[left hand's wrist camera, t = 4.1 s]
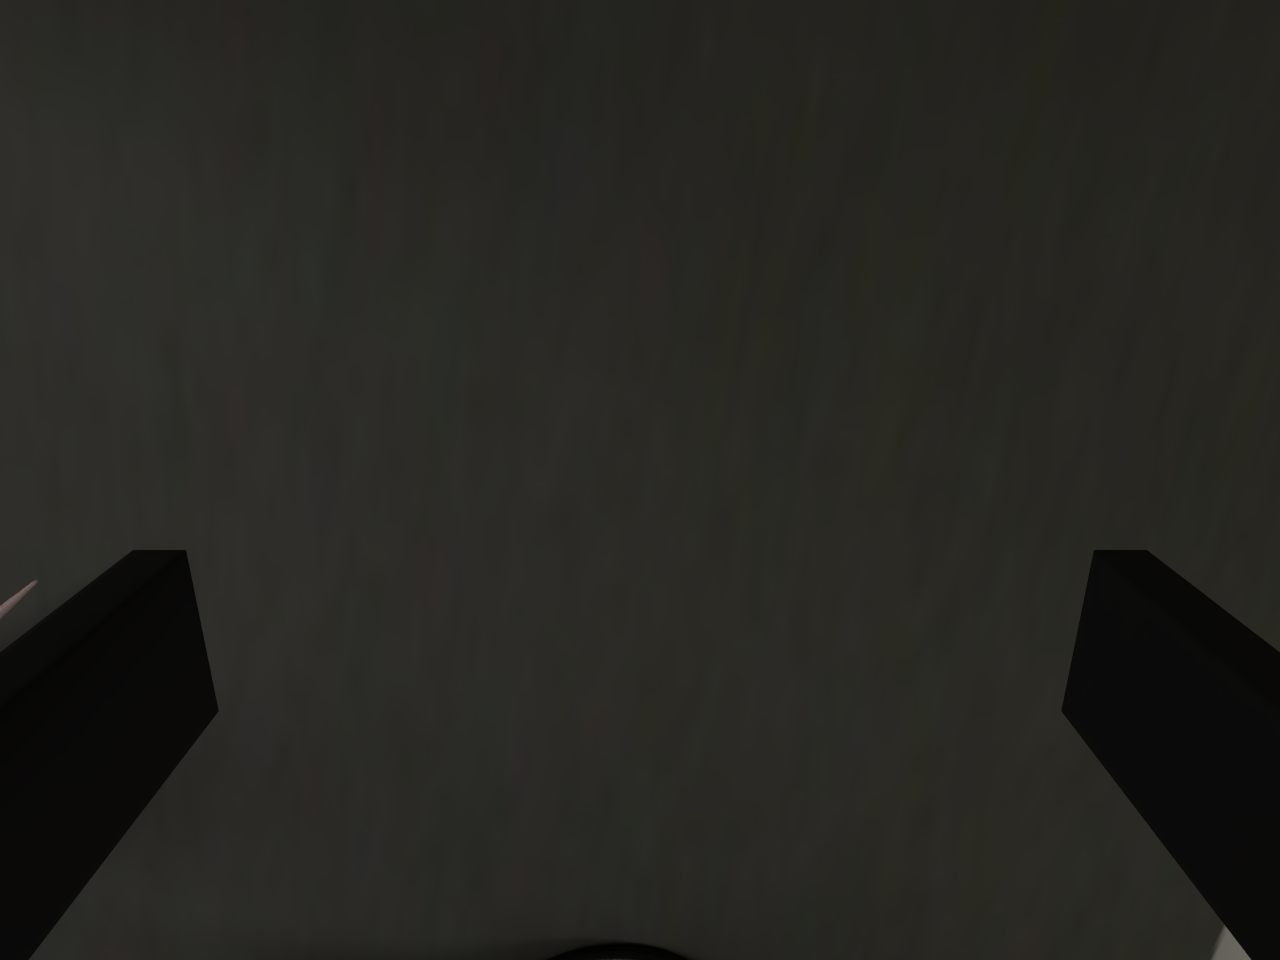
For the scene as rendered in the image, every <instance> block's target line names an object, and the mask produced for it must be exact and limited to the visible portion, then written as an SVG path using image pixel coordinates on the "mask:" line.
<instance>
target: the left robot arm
mask: <svg viewBox="0 0 1280 960" xmlns="http://www.w3.org/2000/svg"><path fill="white" fill-rule="evenodd" d="M217 712H218V706H217V701H216V696H215V691H214V686H213V681H212V676H211V671H210V666H209V661H208V656H207V651H206V647H205V642H204V637H203V632H202V627H201V622H200V617H199V612H198V607H197V602H196V597H195V592H194V587H193V582H192V577H191V573H190V568H189V563H188V558H187V553H186V550H133V551H131V552H130V553H129V554H127V555H126V556H125V557H123V558H122V559H121V560H120V561H118V562H117V563H116V564H114V565H113V566H112V567H111V568H109V569H108V570H107V571H105V572H104V573H103V574H101V575H100V576H99V577H98V578H96V579H95V580H94V581H92V582H91V583H90V584H88V585H87V586H86V587H85V588H83V589H82V590H81V591H79V592H78V593H77V594H75V595H74V596H73V597H72V598H70V599H69V600H68V601H66V602H65V603H64V604H62V605H61V606H60V607H59V608H57V609H56V610H55V611H53V612H52V613H51V614H49V615H48V616H47V617H46V618H44V619H43V620H42V621H40V622H39V623H38V624H37V625H35V626H34V627H33V628H31V629H30V630H29V631H27V632H26V633H25V634H24V635H22V636H21V637H20V638H18V639H17V640H16V641H14V642H13V643H12V644H11V645H9V646H8V647H7V648H5V649H4V650H3V651H1V652H0V960H29V958H30V957H31V956H32V955H33V953H34V952H35V951H36V949H37V948H38V947H39V945H40V944H41V943H42V941H43V940H44V939H45V938H46V936H47V935H48V934H49V932H50V931H51V930H52V928H53V927H54V926H55V924H56V923H57V922H58V921H59V919H60V918H61V917H62V915H63V914H64V913H65V911H66V910H67V909H68V907H69V906H70V905H71V903H72V902H73V901H74V900H75V898H76V897H77V896H78V894H79V893H80V892H81V890H82V889H83V888H84V886H85V885H86V884H87V883H88V881H89V880H90V879H91V877H92V876H93V875H94V873H95V872H96V871H97V869H98V868H99V867H100V866H101V864H102V863H103V862H104V860H105V859H106V858H107V856H108V855H109V854H110V852H111V851H112V850H113V849H114V847H115V846H116V845H117V843H118V842H119V841H120V839H121V838H122V837H123V835H124V834H125V833H126V832H127V830H128V829H129V828H130V826H131V825H132V824H133V822H134V821H135V820H136V818H137V817H138V816H139V815H140V813H141V812H142V811H143V809H144V808H145V807H146V805H147V804H148V803H149V801H150V800H151V799H152V798H153V796H154V795H155V794H156V792H157V791H158V790H159V788H160V787H161V786H162V784H163V783H164V782H165V781H166V779H167V778H168V777H169V775H170V774H171V773H172V771H173V770H174V769H175V767H176V766H177V765H178V764H179V762H180V761H181V760H182V758H183V757H184V756H185V754H186V753H187V752H188V750H189V749H190V748H191V746H192V745H193V744H194V743H195V741H196V740H197V739H198V737H199V736H200V735H201V733H202V732H203V731H204V729H205V728H206V727H207V726H208V724H209V723H210V722H211V720H212V719H213V718H214V716H215V715H216V714H217ZM1062 712H1063V714H1064V715H1065V716H1066V718H1067V719H1068V720H1069V722H1070V723H1071V724H1072V726H1073V727H1074V728H1075V729H1076V731H1077V732H1078V733H1079V735H1080V736H1081V737H1082V739H1083V740H1084V741H1085V743H1086V744H1087V745H1088V746H1089V748H1090V749H1091V750H1092V752H1093V753H1094V754H1095V756H1096V757H1097V758H1098V760H1099V761H1100V762H1101V764H1102V765H1103V766H1104V767H1105V769H1106V770H1107V771H1108V773H1109V774H1110V775H1111V777H1112V778H1113V779H1114V781H1115V782H1116V783H1117V784H1118V786H1119V787H1120V788H1121V790H1122V791H1123V792H1124V794H1125V795H1126V796H1127V798H1128V799H1129V800H1130V801H1131V803H1132V804H1133V805H1134V807H1135V808H1136V809H1137V811H1138V812H1139V813H1140V815H1141V816H1142V817H1143V818H1144V820H1145V821H1146V822H1147V824H1148V825H1149V826H1150V828H1151V829H1152V830H1153V832H1154V833H1155V834H1156V835H1157V837H1158V838H1159V839H1160V841H1161V842H1162V843H1163V845H1164V846H1165V847H1166V849H1167V850H1168V851H1169V852H1170V854H1171V855H1172V856H1173V858H1174V859H1175V860H1176V862H1177V863H1178V864H1179V866H1180V867H1181V868H1182V869H1183V871H1184V872H1185V873H1186V875H1187V876H1188V877H1189V879H1190V880H1191V881H1192V883H1193V884H1194V885H1195V886H1196V888H1197V889H1198V890H1199V892H1200V893H1201V894H1202V896H1203V897H1204V898H1205V900H1206V901H1207V902H1208V903H1209V905H1210V906H1211V907H1212V909H1213V910H1214V911H1215V913H1216V914H1217V915H1218V917H1219V918H1220V919H1221V921H1222V922H1223V923H1224V924H1225V926H1226V927H1227V928H1228V930H1229V931H1230V932H1231V934H1232V935H1233V936H1234V938H1235V939H1236V940H1237V941H1238V943H1239V944H1240V945H1241V947H1242V948H1243V949H1244V951H1245V952H1246V953H1247V955H1248V956H1249V957H1250V958H1251V960H1280V652H1279V651H1277V650H1276V649H1275V648H1273V647H1272V646H1271V645H1269V644H1268V643H1267V642H1266V641H1264V640H1263V639H1262V638H1260V637H1259V636H1258V635H1256V634H1255V633H1254V632H1253V631H1251V630H1250V629H1249V628H1247V627H1246V626H1245V625H1243V624H1242V623H1241V622H1240V621H1238V620H1237V619H1236V618H1234V617H1233V616H1232V615H1231V614H1229V613H1228V612H1227V611H1225V610H1224V609H1223V608H1221V607H1220V606H1219V605H1218V604H1216V603H1215V602H1214V601H1212V600H1211V599H1210V598H1208V597H1207V596H1206V595H1205V594H1203V593H1202V592H1201V591H1199V590H1198V589H1197V588H1195V587H1194V586H1193V585H1192V584H1190V583H1189V582H1188V581H1186V580H1185V579H1184V578H1182V577H1181V576H1180V575H1179V574H1177V573H1176V572H1175V571H1173V570H1172V569H1171V568H1169V567H1168V566H1167V565H1166V564H1164V563H1163V562H1162V561H1160V560H1159V559H1158V558H1157V557H1155V556H1154V555H1153V554H1151V553H1150V552H1149V551H1147V550H1094V553H1093V558H1092V563H1091V568H1090V573H1089V577H1088V582H1087V587H1086V592H1085V597H1084V602H1083V607H1082V612H1081V617H1080V622H1079V627H1078V632H1077V637H1076V642H1075V647H1074V651H1073V656H1072V661H1071V666H1070V671H1069V676H1068V681H1067V686H1066V691H1065V696H1064V701H1063V706H1062ZM548 960H685V959H682V958H680V957H677V956H675V955H672V954H669V953H666V952H662V951H658V950H654V949H649V948H644V947H635V946H620V945H613V946H597V947H589V948H584V949H578V950H574V951H571V952H567V953H564V954H561V955H558V956H555V957H553V958H551V959H548Z"/></svg>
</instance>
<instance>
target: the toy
mask: <svg viewBox="0 0 1280 960" xmlns="http://www.w3.org/2000/svg"><path fill="white" fill-rule="evenodd" d="M37 582H38V580H35V581H33V582H32V583H30V584H29V585H28V586H26V587H25V588H24V589H22V590H21V591H20V592H18V593H17V594H16V595H14V596H13V597H12V598H10V599H9V600H7V601H6V602H5V603H3V604H2V605H1V606H0V618H1V617H3V616H4V615H5V614H6V613H7V612H8V611H9V610H10V609H11V608H12V607H13V606H14V605H15V604H16V603H17V602H18V601H19V600H20V599H21V598H22V597H23V596H24V595H25V594H26V593H27V592H28V591H29V590H30V589H31V588H32V587H33V586H34V585H35V584H36V583H37Z"/></svg>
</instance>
